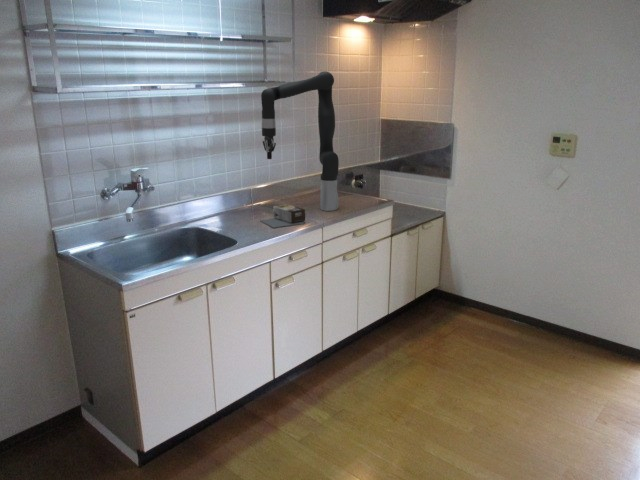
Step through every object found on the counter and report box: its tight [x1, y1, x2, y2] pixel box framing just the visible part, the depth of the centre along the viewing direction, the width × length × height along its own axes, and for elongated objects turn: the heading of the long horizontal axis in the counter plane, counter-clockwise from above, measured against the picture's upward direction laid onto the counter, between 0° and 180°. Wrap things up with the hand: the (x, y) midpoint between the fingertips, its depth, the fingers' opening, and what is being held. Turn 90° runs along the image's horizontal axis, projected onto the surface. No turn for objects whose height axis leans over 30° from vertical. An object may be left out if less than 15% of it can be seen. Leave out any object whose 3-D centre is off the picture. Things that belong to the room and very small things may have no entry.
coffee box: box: [272, 203, 306, 223], centre depth 275 cm, size 9×6×16 cm
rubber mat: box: [259, 217, 306, 229], centre depth 272 cm, size 18×16×1 cm
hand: (269, 159), depth 290 cm, fingers closed
